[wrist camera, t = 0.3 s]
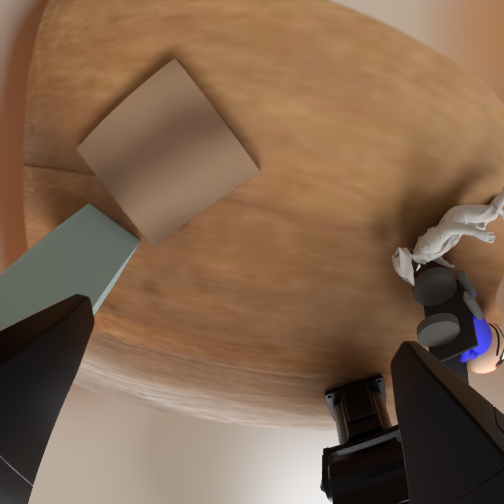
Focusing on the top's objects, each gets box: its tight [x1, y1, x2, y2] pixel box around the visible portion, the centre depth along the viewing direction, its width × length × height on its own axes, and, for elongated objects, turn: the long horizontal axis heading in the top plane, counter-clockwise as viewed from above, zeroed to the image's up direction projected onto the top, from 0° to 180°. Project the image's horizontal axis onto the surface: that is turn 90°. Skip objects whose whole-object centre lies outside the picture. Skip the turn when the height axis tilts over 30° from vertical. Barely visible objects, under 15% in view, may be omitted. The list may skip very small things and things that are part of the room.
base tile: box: [76, 58, 260, 246], centre depth 18 cm, size 9×9×2 cm
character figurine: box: [413, 267, 504, 384], centre depth 21 cm, size 8×7×15 cm
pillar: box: [0, 203, 140, 331], centre depth 16 cm, size 5×5×14 cm
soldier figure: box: [392, 188, 504, 286], centre depth 19 cm, size 8×5×12 cm
